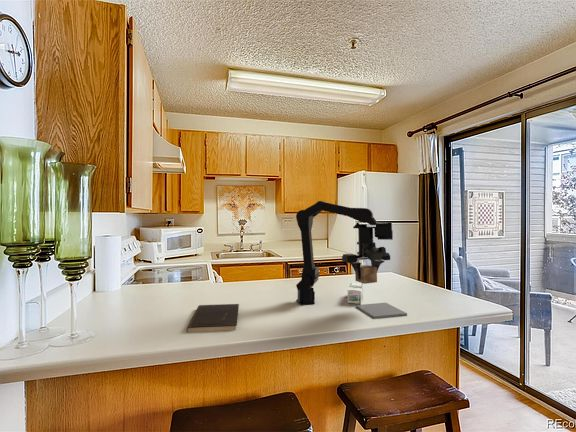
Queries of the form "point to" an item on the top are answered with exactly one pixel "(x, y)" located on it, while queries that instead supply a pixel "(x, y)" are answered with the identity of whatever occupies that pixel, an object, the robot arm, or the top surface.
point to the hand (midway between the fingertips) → (366, 278)
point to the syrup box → (355, 293)
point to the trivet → (381, 310)
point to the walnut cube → (367, 274)
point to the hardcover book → (214, 318)
